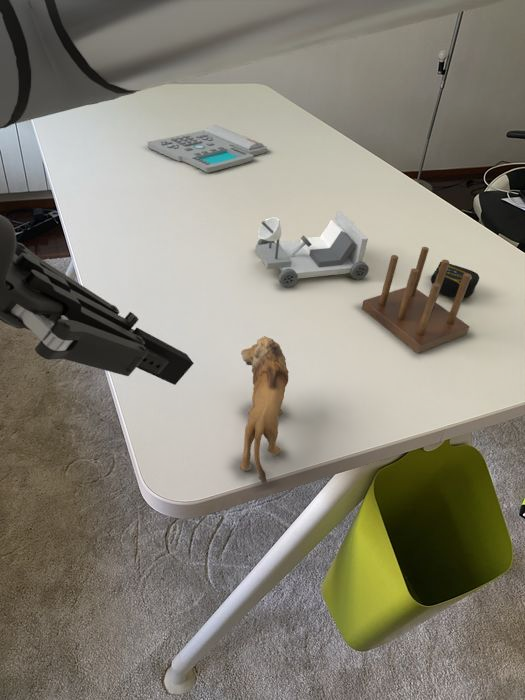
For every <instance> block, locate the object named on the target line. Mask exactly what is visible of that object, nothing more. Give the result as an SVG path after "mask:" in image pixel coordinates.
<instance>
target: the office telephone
mask: <svg viewBox="0 0 525 700" xmlns="http://www.w3.org/2000/svg"><path fill="white" fill-rule="evenodd" d="M146 145H147V148H149V149H151V150H153V151H155V152H157V153H160V154H162V155H164V156H166V157H168V158H171V159H172V160H175V161H178V162H184V163H187V164H188V165H191V166H193V167H195V168H198V169H200V170H201V171H204V173H212V172H216V171H220V170H223V169H228V168H231V167H235V166H239V165H243V164H247V163H250V162H252V161H254V156H258V155H262V154H266V153H267V152H268V151H267V150H268V147H267V145H264V144H263V143H262V142H260V141H257V140H255V139H252V138H249V137H247V136H244V135H242V134H240V133H237V132H235V131H233V130H230V129H227V128H224V127H222V126H220V125H218V124H217V125H216V124H213V125H210V126H208V127H206V129H204V130H199V131H194V132H190V133H185V134H180V135H176V136H170V137H166V138H161V139H160V138H159V139H156V140H151V141H147V143H146Z"/></svg>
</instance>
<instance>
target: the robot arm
mask: <svg viewBox="0 0 525 700" xmlns="http://www.w3.org/2000/svg"><path fill="white" fill-rule="evenodd" d="M503 2H508V0H0V130H2V129H6V128H7V127H11V126H12V125H15V124H20V123H23V122H28V121H31V120H35V119H39V118H43V117H47V116H51V115H55V114H58V113H62V112H67V111H70V110H73V109H77V108H78V109H79V108H81V107H85V106H91V105H96V104H99V103H104V102H109V101H113V100H116V99H119V98H121V97H125V96H129V95H133V94H135V93H137V92H141V91H145V90H149V89H152V88H153V89H154V88H157V87H161V86H165V85H169V84H173V83H177V82H181V81H185V80H189V79H193V78H198V77H201V76H206V75H209V74H215V73H217V72H222V71H227V70H230V69H234V68H238V67H242V66H247V65H251V64H255V63H258V62H262V61H267V60H272V59H275V58H278V57H283V56H287V55H291V54H295V53H299V52H303V51H308V50H312V49H316V48H319V47H324V46H328V45H332V44H336V43H340V42H344V41H349V40H352V39H356V38H359V37H361V38H362V37H365V36H368V35H372V34H377V33H381V32H386V31H389V30H393V29H397V28H402V27H405V26H409V25H414V24H418V23H422V22H425V21H429V20H433V19H439V18H442V17H446V16H450V15H454V14H458V13H462V12H466V11H470V10H471V11H472V10H474V9H475V10H476V9H479V8H482V7H486V6H491V5H495V4H499V3H503ZM119 314H120V310H119V309H118V307H117V306H116V305H115V304H112V303H110V302H108V301H107V300H106V299H104V298H102V297H101V296H99V295H97V294H96V293H94V292H93V291H91V290H90V289H88V288H87V287H85V286H83V285H82V284H81V283H79V282H77V281H76V280H74V279H73V278H71V277H70V276H68V275H67V274H65V273H63V272H62V271H61V270H59V269H57V268H56V267H54V266H52V265H51V264H50V263H48V262H46V261H45V260H43V259H42V258H41V257H39V256H38V255H37V254H35V253H34V252H32V250H30V249H29V248H27V247H26V246H25V244H23V243H21V242H18V241H17V233H16V230H15V227H14V226H13V223H12V222H11V221H10V220H9V219H8V218H7V217H5V216H3V215H1V214H0V321H1V322H2V323H4V324H6V325H8V326H11V327H13V328H14V329H18V330H20V329H21V330H22V329H25V330H28V331H30V332H32V333H33V334H34V335H36V337H37V338H38V339H39V342H38V343H37V344H36V346H35V347H34V351H35V352H36V354H37V355H39V356H40V357H41V358H42V359H45V360H49V361H50V360H51V361H52V360H66V361H69V362H73V363H77V364H80V365H84V366H88V367H91V368H96V369H100V370H102V371H105V372H106V371H107V372H109V373H114V374H117V375H122V376H125V377H130V375H131V374H132V373H133V372H134V371H135V370H136V368H137V369H138V370H141V371H143V372H145V373H147V374H149V375H151V376H154V377H156V378H158V379H160V380H163V381H165V382H167V383H170V384H171V385H174V386H176V385H177V383H178V382H179V381H180V380H181V379H182V378H183V377H184V376H185V374H186V373H187V372H188V371H189V370H190V369H191V367H192V366H193V365H194V363H195V362H194V361H192V359H191V358H190V356H189V355H188V354H187V353H185V352H184V351H182V350H179V349H178V348H176V347H174V346H173V345H171V344H169V343H167V342H165V341H163V340H161V339H159V338H158V337H155V336H154V335H152V334H150V333H148V332H146V331H144V330H143V329H141V328H139V327H136V328H135V329H133V328H134V326H135V325H136V324H137V322H138V321H139V318H138V316H137V315H136V314H134V313H133V312H131V311H129V312H128V313H127V315H126V316H125V317H124V316H122V315H119Z"/></svg>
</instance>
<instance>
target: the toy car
mask: <svg viewBox="0 0 525 700" xmlns="http://www.w3.org/2000/svg"><path fill="white" fill-rule="evenodd" d="M281 236H282V227H281V220H280V218H279V217H276V216H274V217H268V218H265V220H262V222H261V225H260V226H259V228H258V231H257V237H258V238H259V240H258V241H257V243H256V245H255V252H256V254H257V256H258V257H259V258H260V260H261V262H262V263H263V265H264V267H265V268H266V269H267V270H272V269H273V270H274V269H278V270H279V271H280V273H279V275H278V279H277V280H278V283H279V284H280V285H281V286H282V287H283V288H291V287H293V286H295V284H296V283H297V282H298V279H305V278H306V279H307V278H315V277H316V278H317V277H324V276H325V277H327V276H335V275H343V274H344V275H345V274H349V275H350V276H351V277H352V279H354V280H357V281H358V280H359V281H360V280H362V279H364V278H366V276H368V273H369V271H370V267H369V265H368V264H367V263H366V262H365V261H364V259H365V253H366V250H367V246H368V241H369V237H367V235H365V234H364V232H362V231H361V229H359V228H358V226H357V225H355V223H354V222H353V221H352V220H351V219H350V218H349V217H348V216H347V215H346V214H345V213H344V212H343V211H342V210H337V211H335V216H334V220H333V219H331V220H330V221H329V223H328V224H327V226H326V228H325V229H324V230H323V232H322V233H321V234H320V236H312V237H306V236H305V235H302V236H301V237H300V239H301V240H292V241H291V240H289V241H280V239H281Z"/></svg>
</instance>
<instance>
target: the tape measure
mask: <svg viewBox="0 0 525 700" xmlns="http://www.w3.org/2000/svg"><path fill="white" fill-rule="evenodd" d="M441 263H442V260H441V261H440V262H439V263H438V266H437V267H436V269H435V270H434V272H433V273H432V275H431V277H430V282H431V283H430V284H431V285H432V284H433V283H435V281H436V278H437V275H438V272H439V269H440V266H441ZM465 273H468V274H470V275H471V278H470V281H469V284H468V286H467V289H466V292H465V294H464V297H463V300H465V299H468V298H470V297H471V296H472V295H473V293H474V292H475V290H476V287H477V286H478V283H479V281H480V276H479V274H478V273H477V272H476V271H473V270H471V269H468V268H465V267H462V266H459V265H456V264H452V263H449V265H448V268H447V271H446V274H445V277H444V280H443V283H442V286H441V289H440V292H439V295H441V296H443V297H446V298H449V299H454V300H455V297H456V294H457V292H458V289H459V286H460V283H461V281H462V278H463V275H464V274H465Z"/></svg>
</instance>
